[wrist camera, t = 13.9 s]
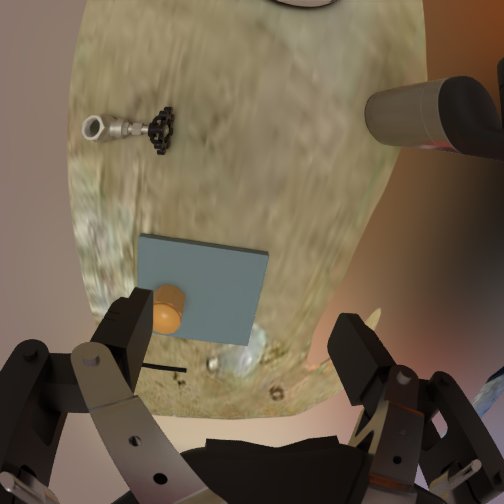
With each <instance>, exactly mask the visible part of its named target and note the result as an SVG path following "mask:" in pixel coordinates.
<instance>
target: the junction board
mask: <svg viewBox="0 0 504 504" xmlns="http://www.w3.org/2000/svg"><path fill="white" fill-rule="evenodd" d="M268 259H269V254H268V252H263V251H257V250H250V249H243V248H237V247H230V246H223V245H216V244H210V243H203V242H196V241H189V240H183V239H176V238H169V237H162V236H156V235H149V234H141V235H140V236H139V243H138V288H143V289H149V290H153V293H154V291H155V290H156V289H158V288H159V287H161V286H162V285H164V284H166V285H172V286H177V287H178V288H179V289H180V290H181V291H182V293H183V294H184V295H185V307H184V311H183V316H182V321H181V325H180V326H179V328H178V329H177V330H176V331H175V332H173V333H171V334H161V333H158V332H156V331H154V330H152V333H155V334H160V335H166V336H172V337H179V338H185V339H192V340H200V341H207V342H216V343H224V344H234V345H244V346H248V342H249V338H250V334H251V329H252V325H253V321H254V317H255V313H256V309H257V305H258V301H259V297H260V293H261V288H262V284H263V280H264V276H265V272H266V267H267V263H268Z"/></svg>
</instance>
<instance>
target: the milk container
mask: <svg viewBox="0 0 504 504" xmlns="http://www.w3.org/2000/svg"><path fill="white" fill-rule="evenodd" d="M277 1H279V2H283V3H287V4H290V5H295V6H307V7H315V6H323V5H327V4H330V3H332V2H335V1H336V0H277Z"/></svg>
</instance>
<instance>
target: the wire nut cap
mask: <svg viewBox="0 0 504 504" xmlns="http://www.w3.org/2000/svg"><path fill="white" fill-rule="evenodd" d="M184 307H185V295H184V294H183V293H182V291H181V290H180V289H179V288H178V287H177V286H172V285H166V284H164V285H162V286H161V287H159V288H158V289H156V290H155V291H154V293H153V330H154V331H156V332H158V333H161V334H171V333H173V332H175V331H176V330H177V329H178V328H179V326H180V325H181V321H182V316H183V311H184Z"/></svg>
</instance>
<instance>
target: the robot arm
mask: <svg viewBox="0 0 504 504" xmlns="http://www.w3.org/2000/svg"><path fill="white" fill-rule="evenodd" d="M497 73H498V74H497V75H498V84H499V91H500V101H501V114H502V123H501V120H500V118H499V115H498V112H497V110H496V107H495V104H494V103H493V100H492V98H491V96H490V95H489V93H488V92H487V90H486V89H485V88H484V87H483V86H482V85H481V84H480V83H479V82H478V81H477V80H475V79H473V78H471V77H467V76H458V77H451V78H445V79H439V80H434V81H428V82H423V83H418V84H413V85H408V86H404V87H400V88H395V89H391V90H387V91H384V92H380V93H376V94H375V95H373V96H372V97H371V98H370V99H369V101H368V103H367V105H366V109H365V118H366V123H367V126H368V128H369V130H370V132H371V133H372V135H373V136H374V137H375V138H376V139H377V140H378V141H380V142H381V143H383V144H386V145H391V146H404V147H414V148H423V149H431V150H438V151H446V152H453V153H459V154H465V155H471V156H477V157H483V158H488V159H493V160H497V161H501V162H504V58H502V59H501V60H500V61H499V63H498V66H497ZM152 330H153V290H149V289H143V288H138V287H135V288H134V289H133V291H132V293H131V295H130V297H129V298H125V297H120V298H119V299H117V300H116V301H114V302H113V303H112V304H111V306H110V308H109V309H108V312H107V313H106V314H105V316H104V319H102V321H101V323H100V324H99V326H98V328H97V330H96V331H95V333H94V335H93V337H92V338H91V340H90V342H85V343H82V344H80V345H78V346H77V347H75V348H74V350H73V351H72V353H70V354H63V353H49V351H48V348H47V346H46V345H45V344H44V343H43V342H41V341H39V340H35V339H30V340H25V341H23V342H21V343H20V344H18V345H17V346H16V348H15V349H14V351H13V352H12V354H11V355H10V357H9V358H8V360H7V362H6V363H5V365H4V367H3V368H2V370H1V371H0V504H60V503H59V501H58V499H57V497H56V496H55V494H54V493H53V492H52V491H51V490H50V489H49V488H48V486H49V481H50V476H51V472H52V467H53V463H54V459H55V455H56V451H57V447H58V444H59V440H60V436H61V433H62V430H63V427H64V423H65V420H66V417H67V414H68V412H69V413H70V412H71V413H90V415H91V417H92V420H93V422H94V424H95V426H96V429H97V431H98V433H99V435H100V437H101V439H102V441H103V443H104V445H105V447H106V449H107V451H108V453H109V455H110V456H111V458H112V460H113V462H114V464H115V465H116V467H117V469H118V470H119V472H120V474H121V476H122V477H123V479H124V481H125V482H126V484H127V485H128V487H129V488H130V490H129V491H128V492H127V493H125V494H124V495H123V496H121V497H120V498H118V499H117V500H116V501H114V502H113V503H111V504H486V503H488V502H489V501H491V500H492V499H494V498H495V497H497V496H498V495H499V494H501V493H502V492H504V459H503V457H502V455H501V453H500V452H499V450H498V448H497V446H496V444H495V443H494V441H493V439H492V437H491V436H490V434H489V432H488V430H487V429H486V427H485V426H484V424H483V422H482V421H481V419H480V417H479V416H478V414H477V413H476V411H475V410H474V408H473V406H472V405H471V403H470V402H469V401H468V399H467V397H466V396H465V394H464V393H463V391H462V390H461V389H460V387H459V386H458V384H457V383H456V381H455V380H454V379H453V378H452V377H451V376H450V375H449V374H447V373H445V372H442V371H437V372H435V373H434V374H433V376H432V377H431V378H430V380H425V379H419V378H418V376H417V374H416V373H415V372H414V371H413V370H412V369H410V368H409V367H407V366H404V365H397V364H396V363H395V361H394V360H393V358H392V357H391V355H390V354H389V352H388V351H387V350H386V348H385V347H384V346H383V344H382V342H381V341H380V340H379V338H378V337H377V335H376V334H375V332H374V331H373V330H372V329H370V328H369V327H368V326H367V325H365V323H364V322H363V321H362V319H361V318H360V316H359V315H358V314H353V313H341V314H340V315H339V317H338V319H337V321H336V323H335V326H334V328H333V331H332V333H331V335H330V338H329V340H328V345H327V348H328V353H329V355H330V358H331V360H332V362H333V364H334V367H335V369H336V371H337V373H338V375H339V378H340V380H341V382H342V384H343V387H344V389H345V391H346V393H347V396H348V398H349V400H350V403H351V405H352V406H357V405H363V406H364V408H363V410H362V411H361V413H360V415H359V418H358V421H357V423H356V426H355V428H354V431H353V433H352V436H351V438H350V441H349V443H348V445H345V444H339V441H338V438H337V436H328V437H320V438H310V439H306V440H303V441H299V442H296V443H293V444H289V445H286V446H282V447H276V448H275V447H269V446H264V445H259V444H254V443H249V442H245V441H239V440H238V441H237V440H218V439H206V444H205V447H201V448H195V449H191V450H187V451H184V452H182V453H180V454H179V453H178V452H177V450H176V449H175V448H174V447H173V445H172V444H171V442H170V441H169V440H168V438H167V437H166V435H165V434H164V433H163V431H162V430H161V429H160V427H159V425H158V424H157V423H156V421H155V420H154V418H153V417H152V415H151V414H150V412H149V410H148V409H147V407H146V406H145V404H144V403H143V401H142V400H141V398H140V397H139V396H138V395H136V396H134V395H133V394H134V391H135V387H136V384H137V380H138V377H139V374H140V370H141V367H142V364H143V360H144V357H145V354H146V351H147V348H148V344H149V341H150V338H151V335H152ZM438 411H440V413H441V414H442V416H443V418H444V420H445V421H446V423H447V426H448V430H447V433H446V435H445V436H444V437H443V438H442V439H441V437H440V435H439V433H438V432H437V430H436V428H435V426H434V424H433V422H432V420H431V419H432V418H433V417H434V416H435V415H436V414H437V412H438ZM418 463H419V466H420V468H421V470H422V473H423V475H424V478H425V480H426V483H427V485H428V488H429V491H428V490H426V489H424V488H422V487H420V486H419V485H417V484H415V483H414V481H415V477H416V472H417V467H418Z"/></svg>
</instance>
